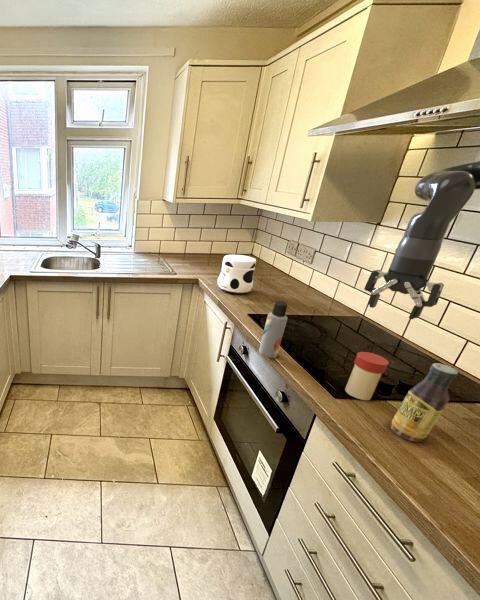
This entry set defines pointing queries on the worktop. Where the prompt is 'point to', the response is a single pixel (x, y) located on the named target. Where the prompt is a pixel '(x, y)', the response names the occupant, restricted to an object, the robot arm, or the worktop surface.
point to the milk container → (237, 274)
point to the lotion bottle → (274, 330)
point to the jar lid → (371, 362)
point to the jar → (362, 383)
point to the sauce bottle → (424, 404)
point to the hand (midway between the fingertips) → (391, 312)
